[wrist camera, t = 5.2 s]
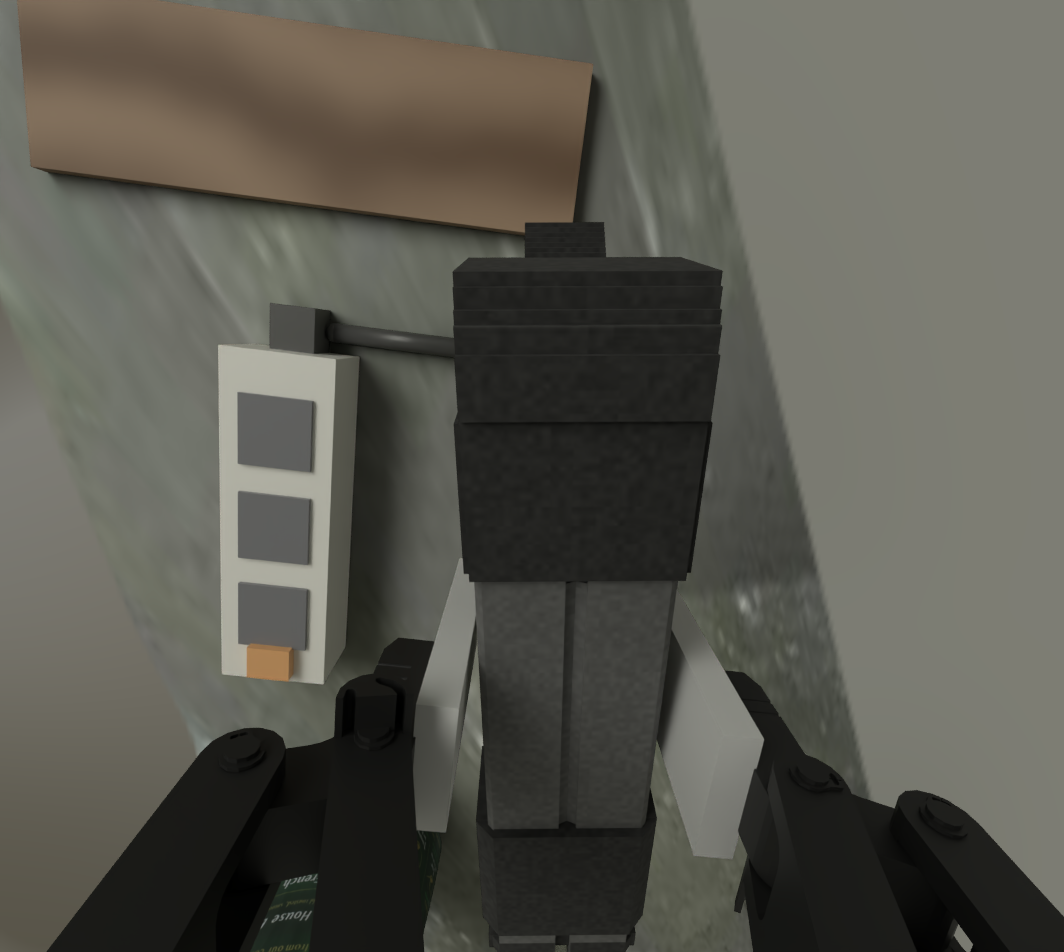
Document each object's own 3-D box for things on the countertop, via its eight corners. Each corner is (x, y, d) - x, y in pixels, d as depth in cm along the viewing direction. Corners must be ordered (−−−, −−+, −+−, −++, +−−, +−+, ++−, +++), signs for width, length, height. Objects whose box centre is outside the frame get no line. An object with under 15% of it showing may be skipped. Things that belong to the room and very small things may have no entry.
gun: (652, 200, 14) (835, 350, 6) (599, 687, 25) (635, 977, 17) (472, 200, 14) (396, 352, 6) (499, 688, 25) (486, 979, 17)
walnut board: (31, -9, 24) (15, -21, 23) (591, 72, 25) (593, 63, 24) (45, 171, 25) (30, 166, 25) (569, 241, 26) (570, 238, 26)
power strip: (256, 301, 27) (209, 294, 23) (505, 332, 27) (501, 332, 23) (255, 637, 31) (215, 681, 27) (470, 659, 32) (461, 706, 28)
